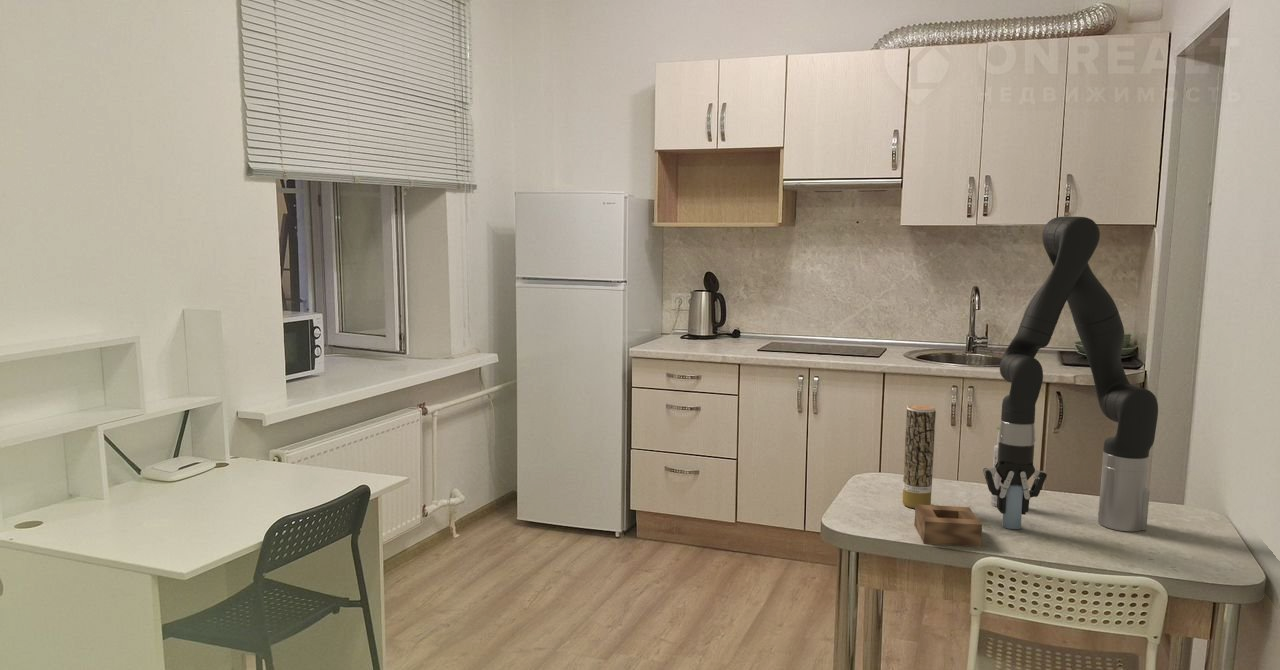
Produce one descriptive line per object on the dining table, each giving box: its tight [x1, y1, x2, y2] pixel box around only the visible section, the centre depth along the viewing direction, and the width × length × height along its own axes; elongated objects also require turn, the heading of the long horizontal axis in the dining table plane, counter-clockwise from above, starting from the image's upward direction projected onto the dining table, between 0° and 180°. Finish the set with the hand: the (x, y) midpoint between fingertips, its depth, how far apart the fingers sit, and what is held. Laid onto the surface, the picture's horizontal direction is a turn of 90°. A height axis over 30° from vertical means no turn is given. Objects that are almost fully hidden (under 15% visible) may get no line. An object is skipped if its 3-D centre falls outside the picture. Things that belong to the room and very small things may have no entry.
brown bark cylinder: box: [902, 404, 937, 509], centre depth 213 cm, size 7×7×25 cm
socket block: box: [913, 504, 983, 548], centre depth 193 cm, size 12×12×5 cm
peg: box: [1001, 484, 1023, 530], centre depth 198 cm, size 4×4×10 cm
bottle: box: [990, 426, 1001, 508], centre depth 214 cm, size 4×4×20 cm
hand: (1012, 512), depth 199 cm, fingers closed on peg, 4 cm apart
